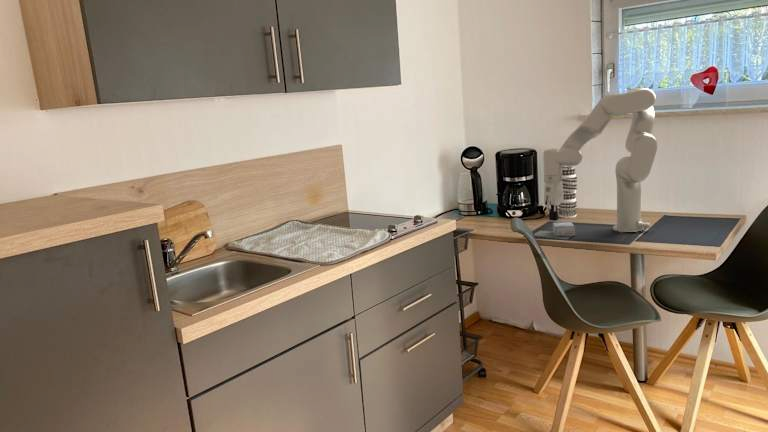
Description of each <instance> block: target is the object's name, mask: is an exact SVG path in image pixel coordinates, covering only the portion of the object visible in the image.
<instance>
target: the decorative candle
mask: <svg viewBox="0 0 768 432" xmlns="http://www.w3.org/2000/svg"><path fill="white" fill-rule="evenodd" d="M577 182H578V177H577V176H576V167H575V166H562V184H563V194H564V201H563V202H562V203H561V204H559V206H558V218H565V219H572V218H576V217H577V212H578V211H577V210H578V209H577V203H578V202H577V198H576V194H577V188H578V187H577V186H578V185H577Z"/></svg>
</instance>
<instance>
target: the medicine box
mask: <svg viewBox="0 0 768 432" xmlns="http://www.w3.org/2000/svg"><path fill="white" fill-rule="evenodd" d="M575 229H576V228H575V225H574V224H573V223H572V221H560V222H559V221H558V222H556V221H554V222H552V232H553V233H554V234H555V236H556V237H559V236H572V237H574V236H575V235H576V232H575V231H576V230H575Z"/></svg>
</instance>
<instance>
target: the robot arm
mask: <svg viewBox="0 0 768 432" xmlns="http://www.w3.org/2000/svg"><path fill="white" fill-rule="evenodd" d="M656 96H657V95H656V94H655V92H654V90H652V89H649V88H646V87H645V88H644V87H634V88H631V89H628V90H627V92H625V93H618V94H613V93H612V94H611V93H609V94H605V95H604V96H602V97H601V98H600V99H599V101H598V102H597V103H596V105H595V106H594V107H593V109H592V110H591V112H590V113H589V114H588V116H587V117H586V118H585V119H584V121H583V122H582V123H581V124H580V125H579V126H578V127H577V128H576V129H575V130H574V131H572V133H571V134H570V135H569V136H568V137H567V139H566V140H565V141H564V143H563V144H562V145H561V147H560V148H548V149H545V150H544V151H543V153H542V154H543V157H542V158H543V183H544V188H543V189H544V190H543V202H544V205H545V206H546V209H547V210H548V213H549V214H548V216H549V218H548V219H549V221H553V222H556V221H558V220H559V210H558V209H559V205H560V204H561V203H562V202H563V201H564V194H563V184H562V166H574V167H575V166H578V165H579V164H580V163H581V162H582V160H583V154H582V152H581V149H582V148H583V147H584V146H585V145H586V144H587V143H588V142H589V141H591V140H593V139H594V138H595V139H596V138H597V137H598V136H599V135H601V134H602V133H603V131H604V130H605V128H606V127H607V126H608V125H609V124H610V122H611V121H612V120H613V118H614V117H618V116H625V115H628V114H632V119H631V123H630V127H629V130H628V134H627V137H626V140H625V149H626V150H627V152H629V153H630V156H629V155H627V156H624V157H621V158H620V159H619V160H618V161H617V163H616V164H615V169H614V170H615V171H614V172H615V178H616V179H615V180H616V224H614V225H613V226H612V230H613V231H614V232H617V231H618V233H623V232H636V233H638V232H637V231H641V232H643V231H645V228H647V229H650V228H651V225H652V223H651V222H646V221H644V219H643V218H641V215H642V214H641V213H642V212H641V211H642V210H641V209H642V208H641V205H642V187H641V186H642V184H641V183H642V182H643V181H645V180H647V178H648V177H649V175H650V173H651V169H652V167H653V164H654V160H655V158H656V154H657V151H658V141H657V138H655V136H654V135H652V131H653V128H654V124H655V117H656V114H655V108H654V104H655V103H656V99H657V98H656ZM642 230H643V231H642Z"/></svg>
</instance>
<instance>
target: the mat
mask: <svg viewBox="0 0 768 432" xmlns="http://www.w3.org/2000/svg"><path fill="white" fill-rule="evenodd" d="M533 234H534V236H533V237H538V238H547V239H555V240H564V241H565V240H568V239H571V238H573V236H559V237H556V236H555V234H554V233H553V231H549V230H538V231H536V232H535V233H533Z"/></svg>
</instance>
